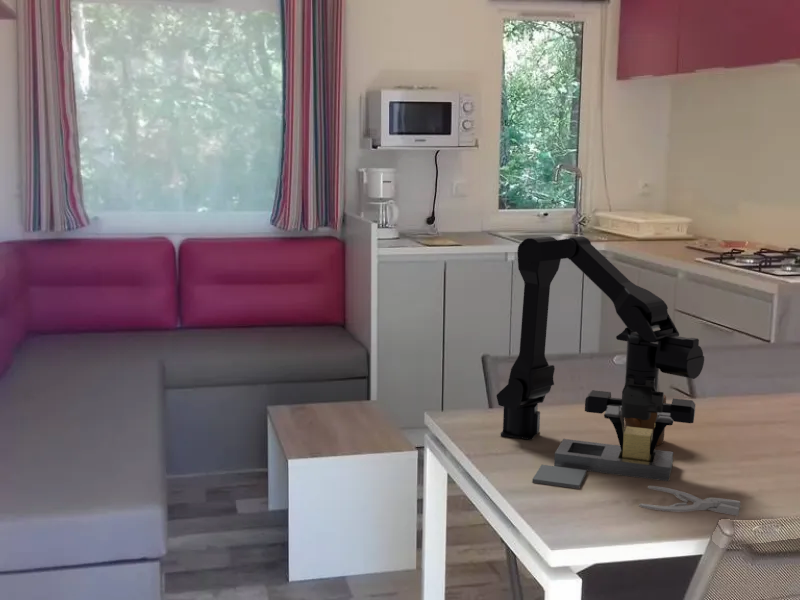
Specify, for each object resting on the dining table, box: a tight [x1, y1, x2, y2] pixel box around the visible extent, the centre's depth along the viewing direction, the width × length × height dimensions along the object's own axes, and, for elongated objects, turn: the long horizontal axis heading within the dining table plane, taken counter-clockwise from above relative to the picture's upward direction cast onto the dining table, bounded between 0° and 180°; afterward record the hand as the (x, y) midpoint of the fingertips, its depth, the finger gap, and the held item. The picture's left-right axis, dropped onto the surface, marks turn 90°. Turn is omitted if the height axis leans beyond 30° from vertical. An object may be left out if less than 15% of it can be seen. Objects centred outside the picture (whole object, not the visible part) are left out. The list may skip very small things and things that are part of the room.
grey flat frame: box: [553, 438, 674, 482], centre depth 172 cm, size 20×9×2 cm, turn 70°
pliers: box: [638, 485, 741, 516], centre depth 155 cm, size 10×2×15 cm
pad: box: [531, 464, 587, 490], centre depth 166 cm, size 8×8×1 cm
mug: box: [624, 394, 667, 447], centre depth 185 cm, size 12×8×9 cm, turn 140°
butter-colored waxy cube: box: [622, 426, 653, 462], centre depth 171 cm, size 5×5×7 cm
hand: (637, 452), depth 171 cm, fingers closed on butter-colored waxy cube, 5 cm apart
